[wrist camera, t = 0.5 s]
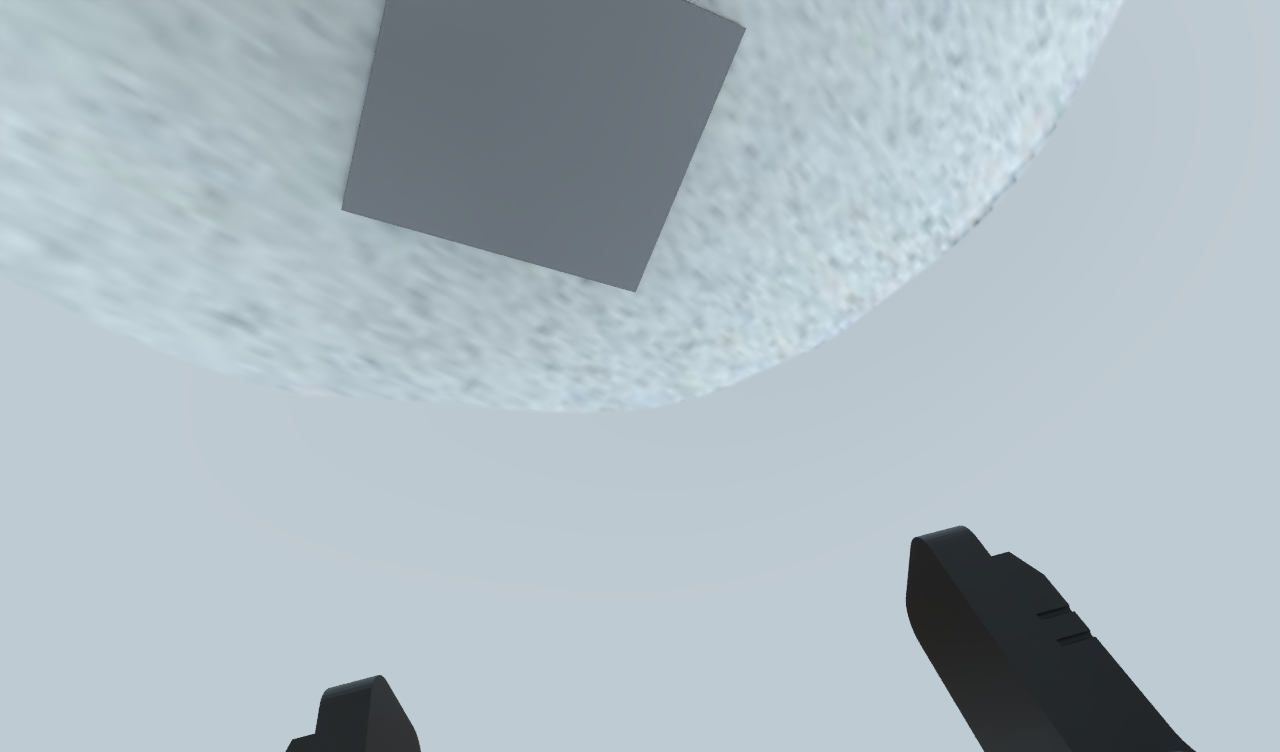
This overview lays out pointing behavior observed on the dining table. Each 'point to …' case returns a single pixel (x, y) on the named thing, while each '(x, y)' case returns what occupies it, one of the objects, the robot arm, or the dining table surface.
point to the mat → (538, 125)
